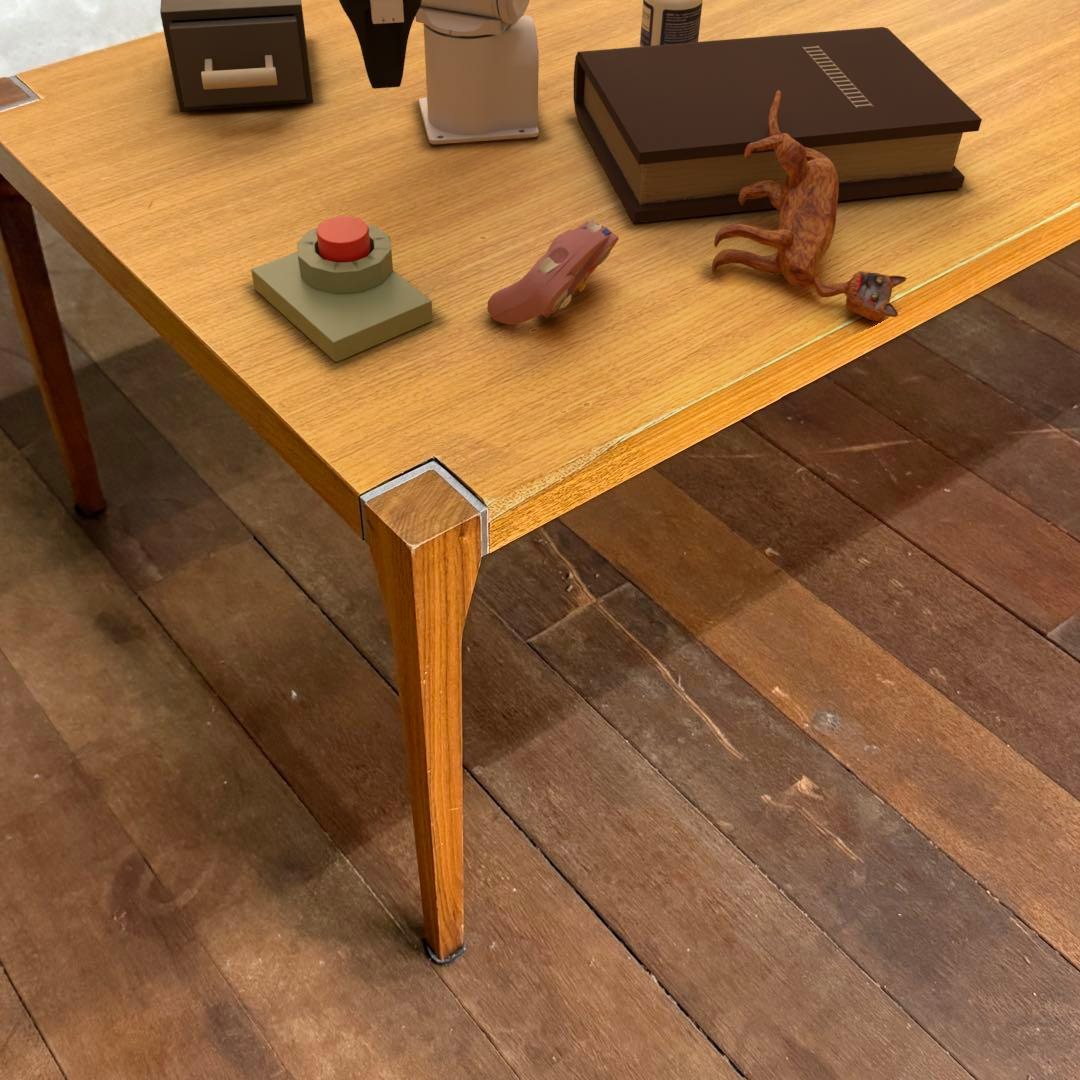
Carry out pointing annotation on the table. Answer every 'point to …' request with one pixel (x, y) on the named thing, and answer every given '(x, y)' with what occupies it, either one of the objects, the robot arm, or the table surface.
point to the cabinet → (228, 3)
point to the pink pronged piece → (554, 275)
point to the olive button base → (343, 296)
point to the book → (766, 118)
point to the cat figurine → (803, 225)
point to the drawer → (238, 60)
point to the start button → (343, 239)
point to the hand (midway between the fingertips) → (385, 83)
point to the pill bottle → (670, 22)
